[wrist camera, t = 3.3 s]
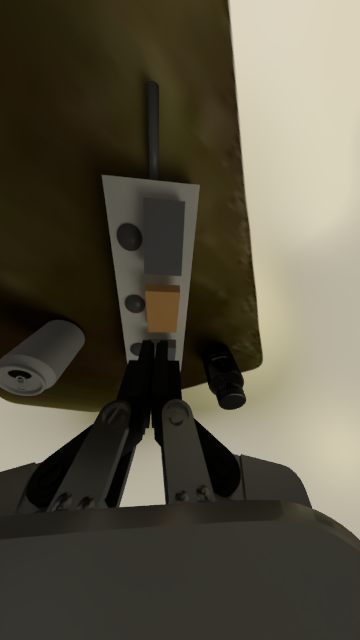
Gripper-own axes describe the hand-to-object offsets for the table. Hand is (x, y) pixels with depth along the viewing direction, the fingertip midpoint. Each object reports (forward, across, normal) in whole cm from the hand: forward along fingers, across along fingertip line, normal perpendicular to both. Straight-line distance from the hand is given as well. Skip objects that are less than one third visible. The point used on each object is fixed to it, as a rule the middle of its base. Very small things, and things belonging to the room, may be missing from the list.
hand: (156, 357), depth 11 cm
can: (+20, +20, +12) cm, 30 cm away
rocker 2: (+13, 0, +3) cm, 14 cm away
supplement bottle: (+20, -12, +17) cm, 29 cm away
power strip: (+19, +2, +3) cm, 20 cm away
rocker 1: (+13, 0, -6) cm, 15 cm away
